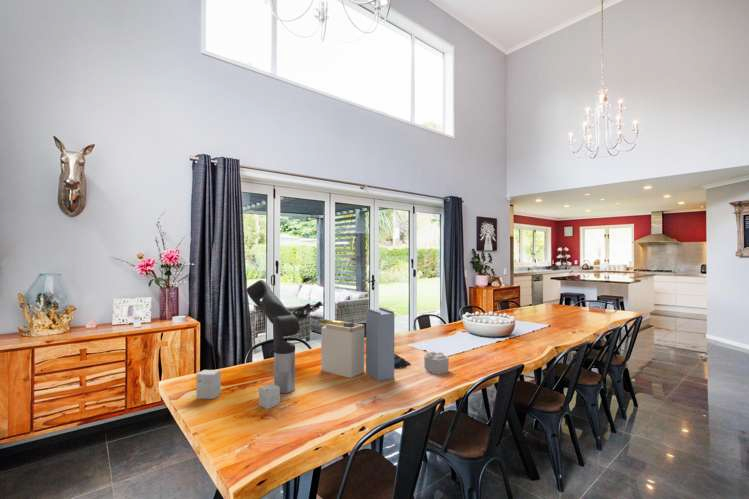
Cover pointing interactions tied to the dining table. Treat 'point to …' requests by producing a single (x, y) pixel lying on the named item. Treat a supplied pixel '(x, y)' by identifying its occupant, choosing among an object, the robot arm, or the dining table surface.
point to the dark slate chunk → (400, 362)
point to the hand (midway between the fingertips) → (315, 303)
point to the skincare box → (269, 396)
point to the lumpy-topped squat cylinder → (436, 362)
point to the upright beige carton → (342, 349)
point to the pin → (335, 323)
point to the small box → (208, 384)
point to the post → (380, 343)
